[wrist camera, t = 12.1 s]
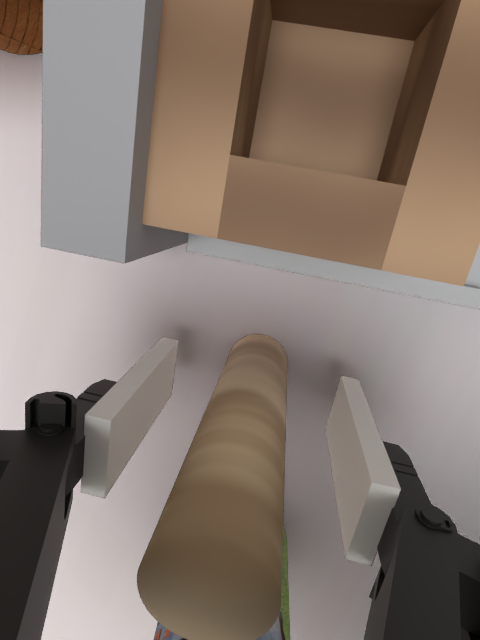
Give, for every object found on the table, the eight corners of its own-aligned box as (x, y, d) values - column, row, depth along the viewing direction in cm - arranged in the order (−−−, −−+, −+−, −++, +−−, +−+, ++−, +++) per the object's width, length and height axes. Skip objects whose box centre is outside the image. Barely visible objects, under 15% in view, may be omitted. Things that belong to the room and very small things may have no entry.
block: (401, 257, 16) (463, 286, 10) (194, 218, 16) (141, 224, 11) (480, 1, 13) (629, -161, 7) (227, -35, 14) (181, -207, 8)
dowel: (280, 394, 19) (265, 661, 8) (224, 382, 20) (131, 624, 8) (293, 341, 18) (296, 557, 7) (233, 328, 19) (144, 518, 7)
